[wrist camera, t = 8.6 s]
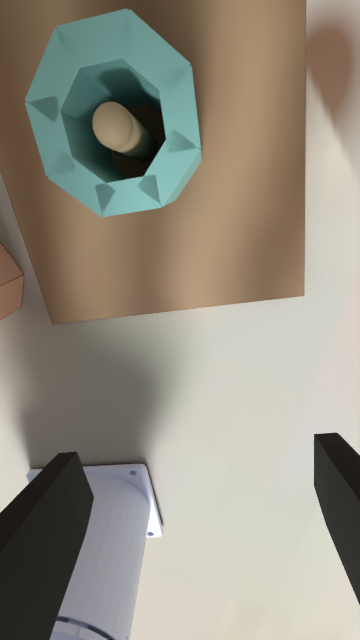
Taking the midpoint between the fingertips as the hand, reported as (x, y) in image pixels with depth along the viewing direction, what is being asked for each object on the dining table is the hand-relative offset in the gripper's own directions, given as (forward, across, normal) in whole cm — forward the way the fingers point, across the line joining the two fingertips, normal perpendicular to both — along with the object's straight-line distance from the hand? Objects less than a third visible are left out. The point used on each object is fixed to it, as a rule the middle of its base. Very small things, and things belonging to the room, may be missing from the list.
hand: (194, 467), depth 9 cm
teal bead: (+9, +1, -10) cm, 13 cm away
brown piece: (+10, +1, -10) cm, 14 cm away
